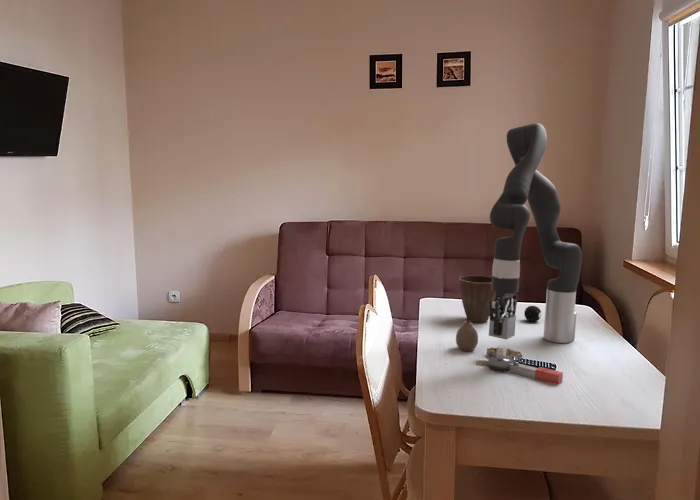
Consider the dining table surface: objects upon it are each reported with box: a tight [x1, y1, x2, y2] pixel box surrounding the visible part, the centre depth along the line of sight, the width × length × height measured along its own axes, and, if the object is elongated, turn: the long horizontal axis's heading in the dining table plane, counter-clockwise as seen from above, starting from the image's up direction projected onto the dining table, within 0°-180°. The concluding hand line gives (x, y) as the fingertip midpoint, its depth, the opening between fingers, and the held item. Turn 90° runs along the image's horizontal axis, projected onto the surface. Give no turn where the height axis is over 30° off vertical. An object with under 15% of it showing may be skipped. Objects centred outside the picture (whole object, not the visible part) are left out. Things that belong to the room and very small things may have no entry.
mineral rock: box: [486, 347, 523, 359], centre depth 175 cm, size 11×4×8 cm
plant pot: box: [458, 275, 496, 324], centre depth 216 cm, size 15×15×16 cm
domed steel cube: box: [488, 311, 517, 341], centre depth 164 cm, size 5×5×7 cm
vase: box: [455, 321, 479, 352], centre depth 182 cm, size 7×7×9 cm
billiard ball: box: [523, 305, 542, 323], centre depth 217 cm, size 6×6×6 cm
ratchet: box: [487, 345, 564, 386], centre depth 161 cm, size 7×21×6 cm, turn 51°
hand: (501, 332), depth 164 cm, fingers closed on domed steel cube, 5 cm apart
